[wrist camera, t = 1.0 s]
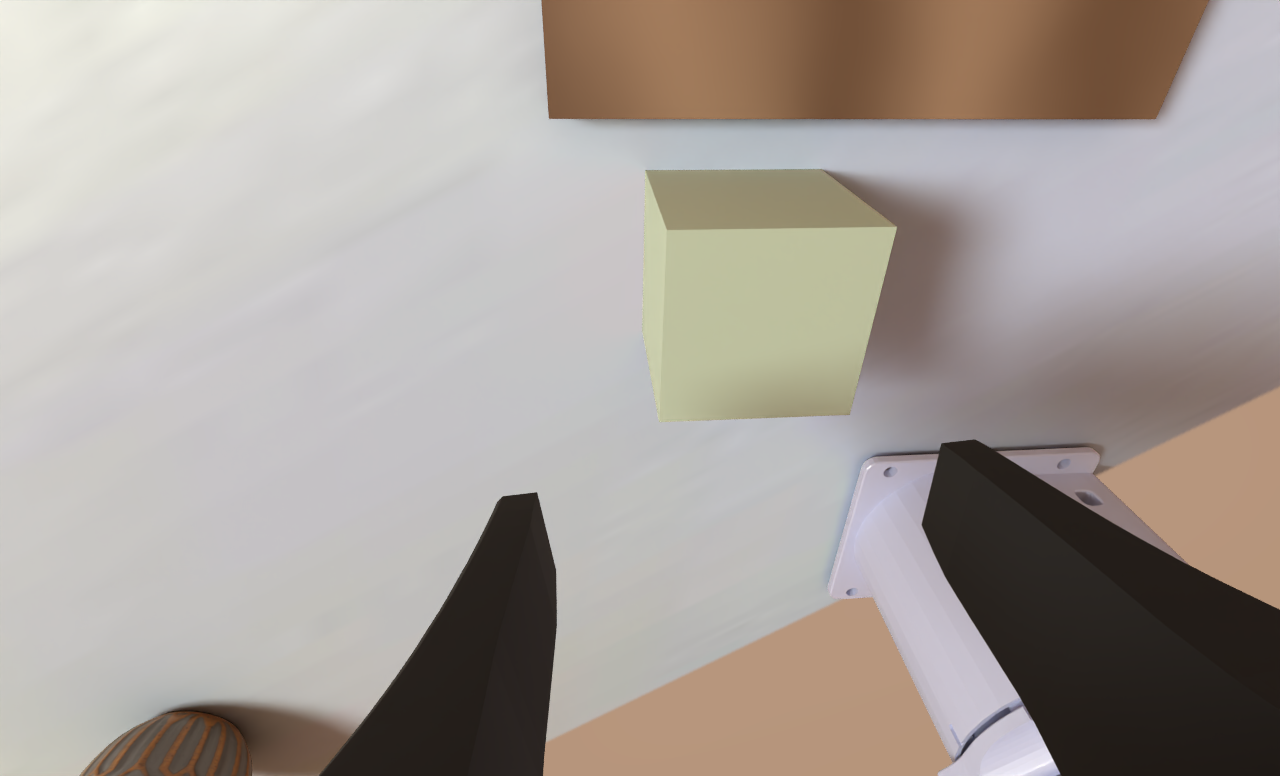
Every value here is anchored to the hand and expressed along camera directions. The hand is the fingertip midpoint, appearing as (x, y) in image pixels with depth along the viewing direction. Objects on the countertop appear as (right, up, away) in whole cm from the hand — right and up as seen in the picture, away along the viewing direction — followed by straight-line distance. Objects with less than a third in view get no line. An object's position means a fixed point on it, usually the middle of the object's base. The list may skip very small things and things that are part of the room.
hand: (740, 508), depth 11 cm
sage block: (+1, +6, +7) cm, 10 cm away
